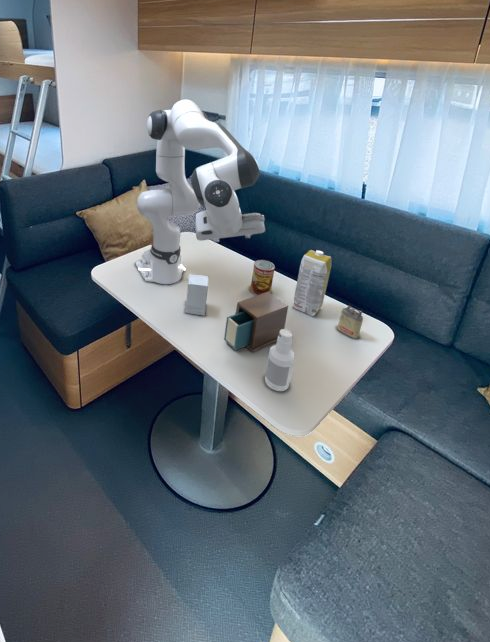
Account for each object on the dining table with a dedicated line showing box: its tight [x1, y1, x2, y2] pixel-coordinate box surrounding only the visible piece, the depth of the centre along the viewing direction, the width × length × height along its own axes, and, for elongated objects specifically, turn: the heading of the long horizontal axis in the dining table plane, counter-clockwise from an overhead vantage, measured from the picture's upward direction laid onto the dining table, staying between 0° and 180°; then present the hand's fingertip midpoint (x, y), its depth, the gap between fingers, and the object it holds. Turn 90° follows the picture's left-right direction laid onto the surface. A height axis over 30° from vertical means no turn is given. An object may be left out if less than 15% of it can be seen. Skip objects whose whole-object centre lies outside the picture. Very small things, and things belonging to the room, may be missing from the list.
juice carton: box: [293, 249, 332, 317], centre depth 151 cm, size 9×8×24 cm
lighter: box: [336, 304, 364, 339], centre depth 141 cm, size 7×4×10 cm, turn 37°
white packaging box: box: [184, 273, 209, 316], centre depth 151 cm, size 7×7×13 cm
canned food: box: [250, 259, 276, 296], centre depth 164 cm, size 8×8×12 cm
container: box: [223, 311, 254, 351], centre depth 135 cm, size 6×14×9 cm, turn 118°
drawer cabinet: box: [235, 292, 289, 352], centre depth 138 cm, size 10×14×13 cm
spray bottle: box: [264, 328, 296, 392], centre depth 118 cm, size 7×7×18 cm
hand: (232, 238), depth 127 cm, fingers open, 8 cm apart
